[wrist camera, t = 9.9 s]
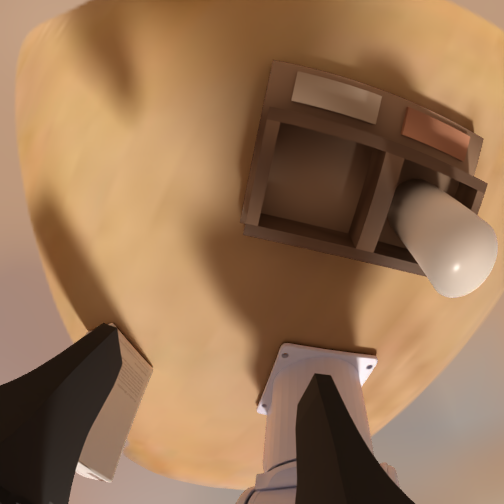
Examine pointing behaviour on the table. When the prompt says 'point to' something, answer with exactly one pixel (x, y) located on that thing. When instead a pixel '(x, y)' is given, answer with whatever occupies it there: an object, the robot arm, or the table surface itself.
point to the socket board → (348, 165)
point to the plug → (443, 237)
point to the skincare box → (115, 416)
